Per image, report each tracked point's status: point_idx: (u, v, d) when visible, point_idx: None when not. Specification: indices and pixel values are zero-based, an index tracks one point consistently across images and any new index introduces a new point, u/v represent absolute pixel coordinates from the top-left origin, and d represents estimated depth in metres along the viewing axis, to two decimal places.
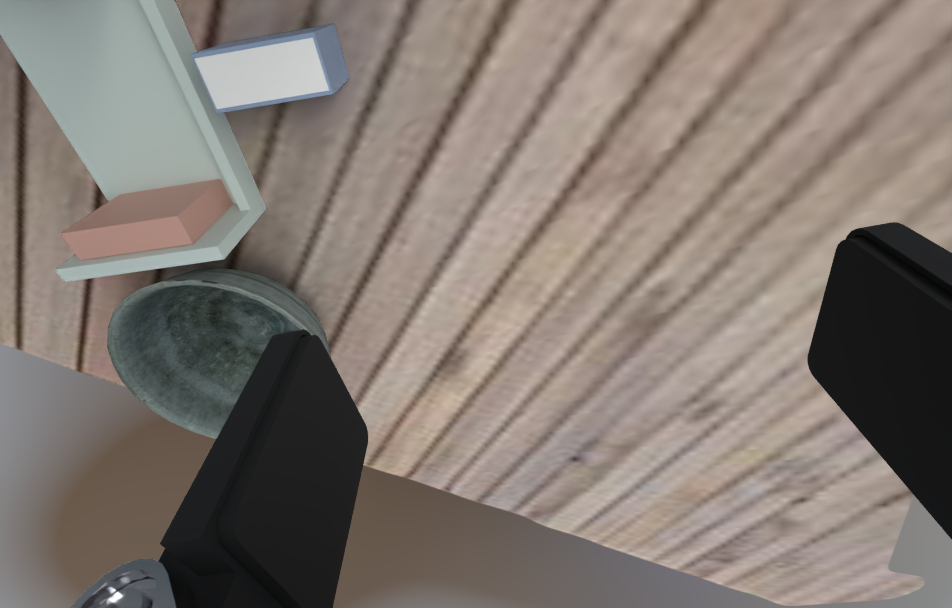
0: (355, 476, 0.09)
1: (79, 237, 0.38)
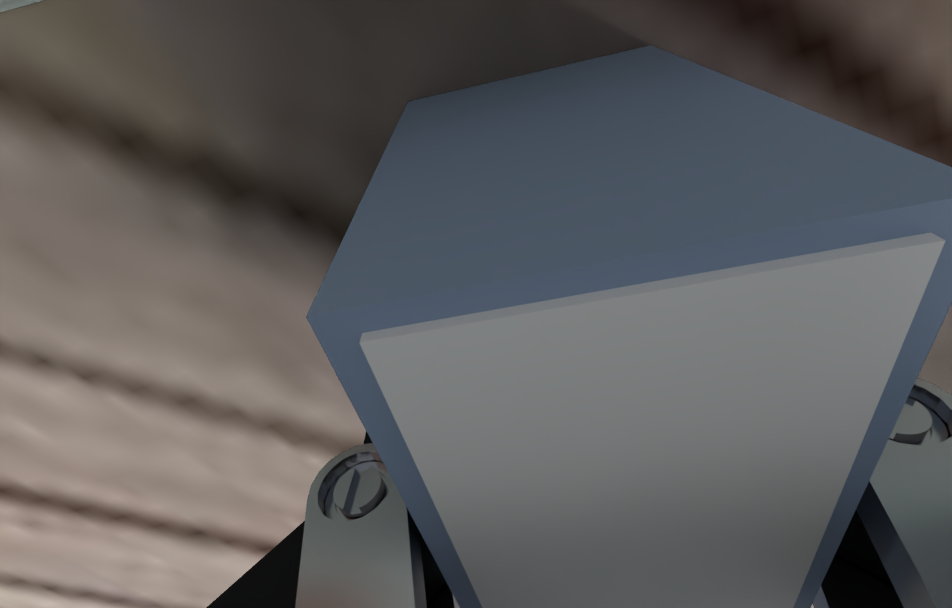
0: None
1: None
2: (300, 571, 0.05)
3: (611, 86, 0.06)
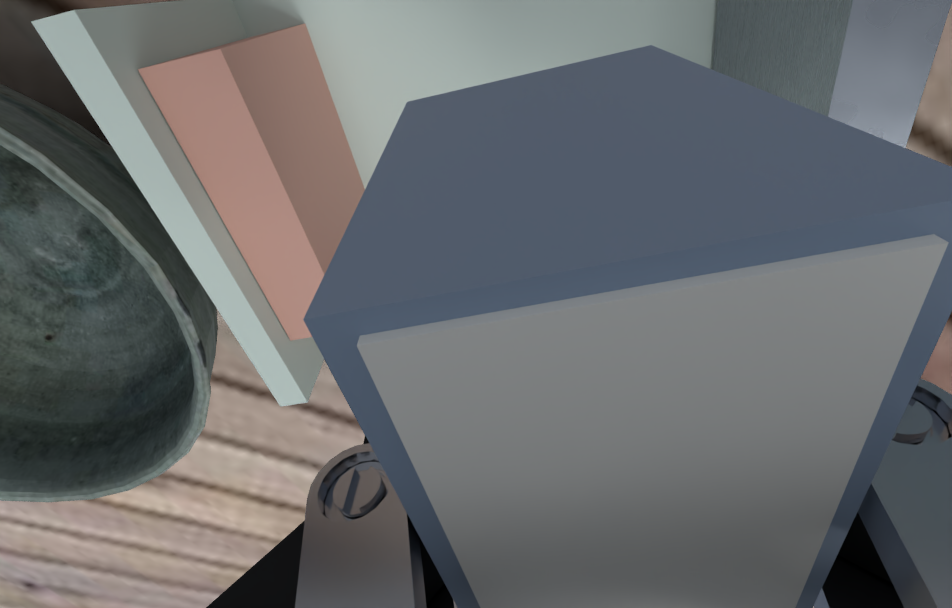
0: None
1: (226, 104, 0.14)
2: (300, 571, 0.05)
3: (611, 86, 0.06)
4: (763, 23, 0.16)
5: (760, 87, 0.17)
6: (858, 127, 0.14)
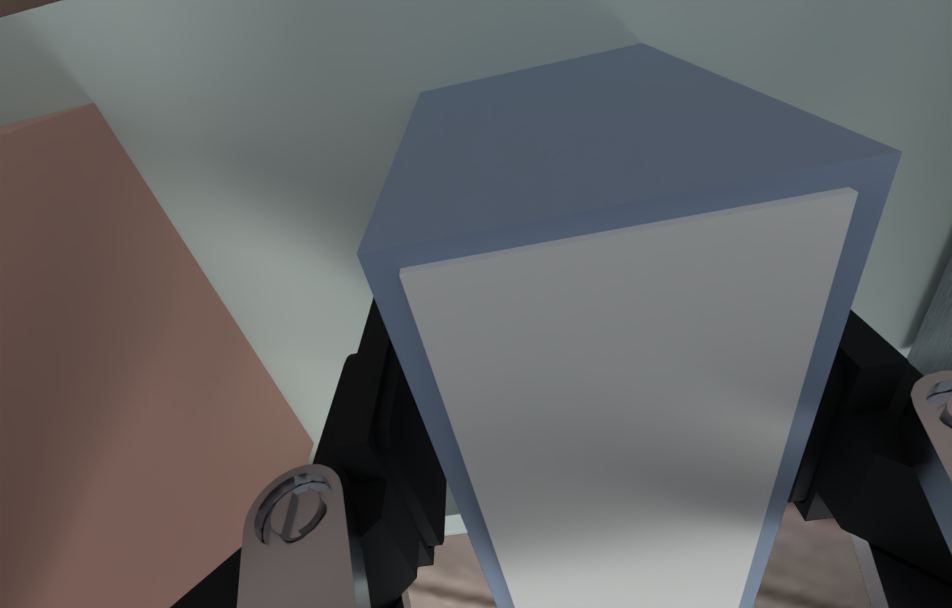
0: None
1: None
2: (238, 602, 0.05)
3: (605, 78, 0.07)
4: None
5: None
6: None
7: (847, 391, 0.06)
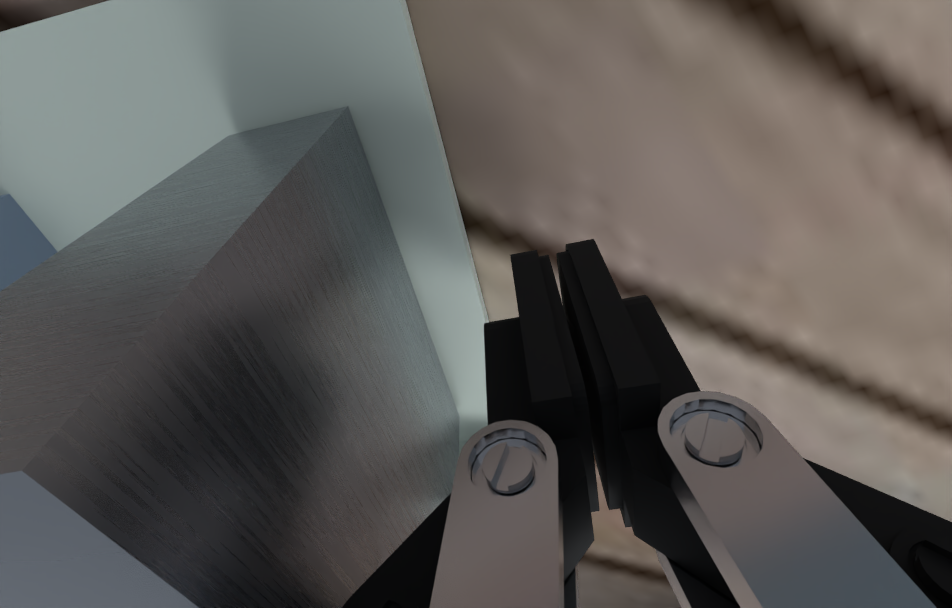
0: None
1: None
2: (445, 532, 0.05)
3: None
4: None
5: None
6: None
7: (618, 409, 0.06)
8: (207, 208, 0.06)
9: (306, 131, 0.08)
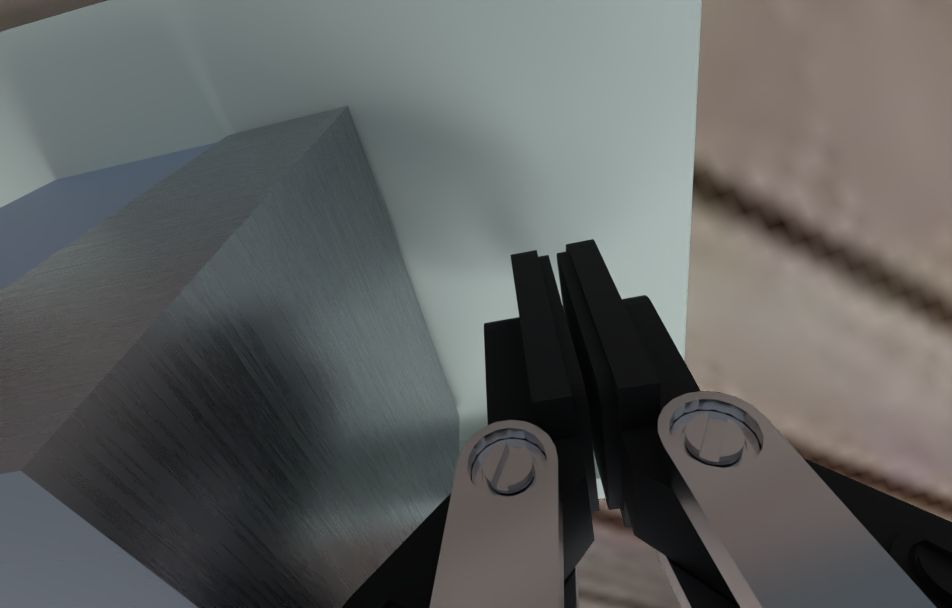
0: None
1: None
2: (445, 532, 0.05)
3: (120, 187, 0.08)
4: None
5: None
6: None
7: (619, 409, 0.06)
8: (207, 208, 0.05)
9: (306, 131, 0.08)
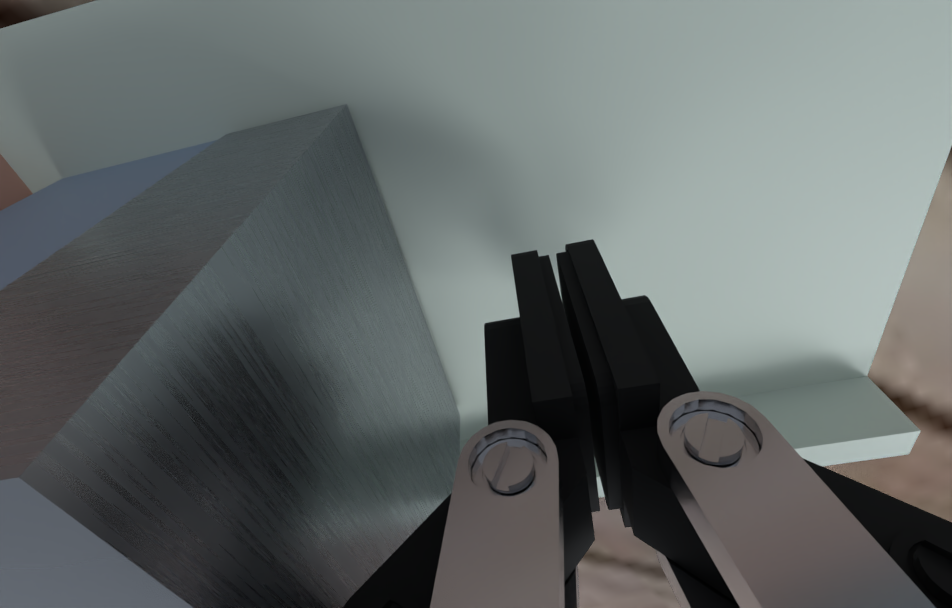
0: None
1: None
2: (445, 532, 0.05)
3: (128, 184, 0.08)
4: None
5: None
6: None
7: (618, 409, 0.06)
8: (205, 208, 0.05)
9: (305, 129, 0.08)
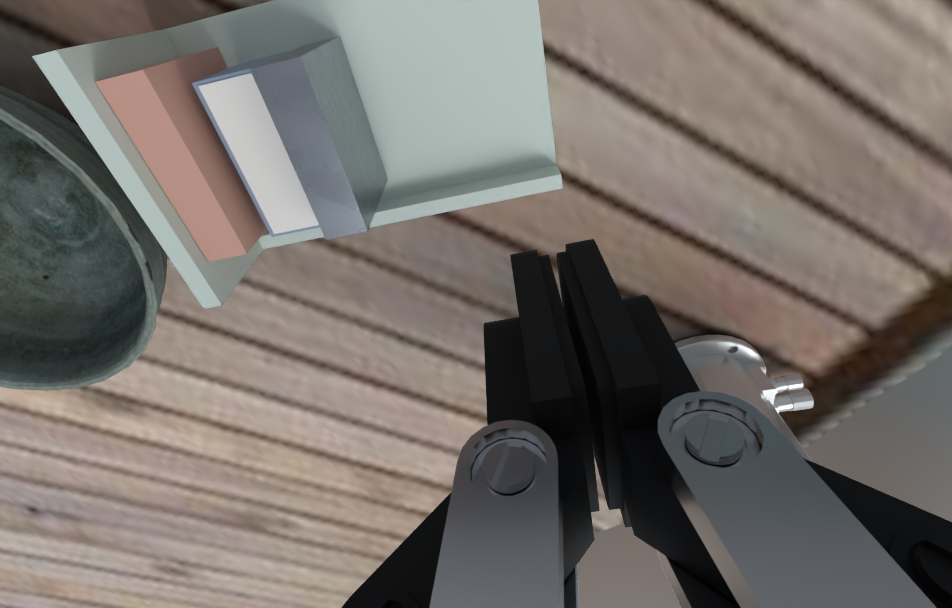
0: None
1: (150, 102, 0.23)
2: (445, 532, 0.05)
3: (271, 57, 0.27)
4: None
5: None
6: (310, 163, 0.24)
7: (619, 409, 0.06)
8: (307, 49, 0.24)
9: (327, 41, 0.27)
